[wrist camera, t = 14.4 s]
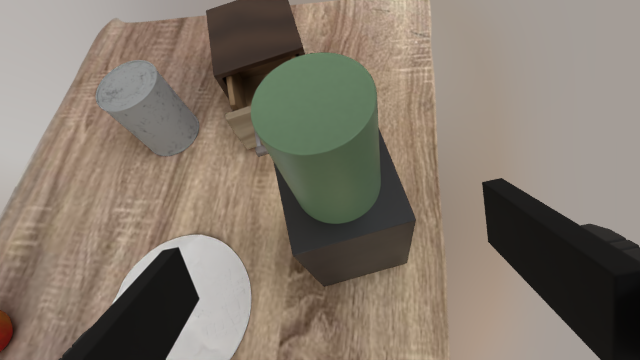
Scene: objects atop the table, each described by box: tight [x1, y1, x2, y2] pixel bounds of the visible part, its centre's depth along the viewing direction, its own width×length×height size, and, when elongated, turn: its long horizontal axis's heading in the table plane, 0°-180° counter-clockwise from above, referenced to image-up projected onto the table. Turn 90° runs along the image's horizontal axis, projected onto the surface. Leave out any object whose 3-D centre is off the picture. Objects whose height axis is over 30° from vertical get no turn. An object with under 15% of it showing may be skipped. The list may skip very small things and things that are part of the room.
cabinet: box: [206, 0, 305, 99], centre depth 58 cm, size 16×14×10 cm
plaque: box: [113, 235, 251, 360], centre depth 45 cm, size 20×20×2 cm
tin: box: [251, 52, 381, 224], centre depth 26 cm, size 8×8×12 cm
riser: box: [274, 127, 416, 287], centre depth 39 cm, size 11×11×16 cm
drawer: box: [225, 54, 296, 157], centre depth 52 cm, size 20×13×8 cm, turn 14°
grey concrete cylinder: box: [96, 60, 199, 156], centre depth 54 cm, size 10×10×12 cm
